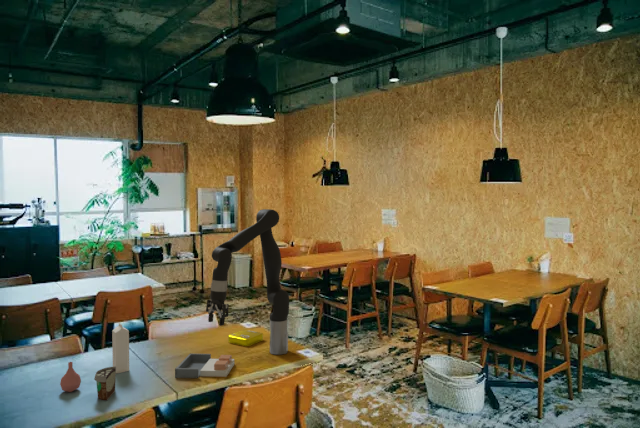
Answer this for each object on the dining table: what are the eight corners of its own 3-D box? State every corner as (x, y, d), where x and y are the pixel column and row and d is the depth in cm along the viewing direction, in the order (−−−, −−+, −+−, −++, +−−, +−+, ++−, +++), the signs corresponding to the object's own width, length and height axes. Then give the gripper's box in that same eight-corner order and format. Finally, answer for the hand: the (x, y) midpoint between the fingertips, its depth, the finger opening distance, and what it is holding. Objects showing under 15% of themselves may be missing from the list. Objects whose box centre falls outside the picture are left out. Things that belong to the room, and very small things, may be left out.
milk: (115, 373, 217) (115, 326, 216) (112, 369, 222) (111, 323, 221) (129, 370, 220) (128, 324, 219) (126, 367, 225) (125, 321, 224)
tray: (210, 361, 233) (210, 353, 232) (197, 378, 212) (197, 369, 212) (189, 361, 233) (189, 353, 233) (175, 377, 212) (174, 368, 212)
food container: (101, 389, 199) (101, 366, 198) (116, 389, 199) (116, 366, 199) (89, 402, 186) (89, 377, 186) (105, 402, 187) (105, 377, 186)
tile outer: (227, 366, 220) (227, 360, 220) (225, 369, 215) (225, 364, 215) (217, 365, 220) (217, 360, 220) (214, 369, 215) (214, 364, 215)
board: (234, 364, 230) (234, 359, 229) (226, 376, 214) (226, 371, 213) (210, 363, 230) (210, 358, 230) (200, 376, 214) (200, 370, 214)
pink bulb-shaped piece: (59, 395, 192) (58, 366, 192) (61, 388, 199) (60, 360, 199) (80, 392, 195) (80, 364, 195) (81, 386, 202) (81, 358, 202)
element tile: (264, 340, 269) (264, 332, 269) (247, 347, 256) (247, 338, 256) (244, 336, 277) (244, 328, 277) (226, 343, 264) (226, 334, 264)
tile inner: (231, 360, 228) (231, 354, 228) (229, 363, 223) (229, 358, 223) (221, 359, 228) (221, 354, 228) (218, 363, 223) (218, 358, 223)
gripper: (234, 291, 223) (231, 325, 223) (216, 286, 233) (213, 319, 232) (221, 292, 218) (218, 327, 217) (203, 287, 227) (200, 321, 227)
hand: (215, 323), depth 225 cm, fingers open, 8 cm apart
